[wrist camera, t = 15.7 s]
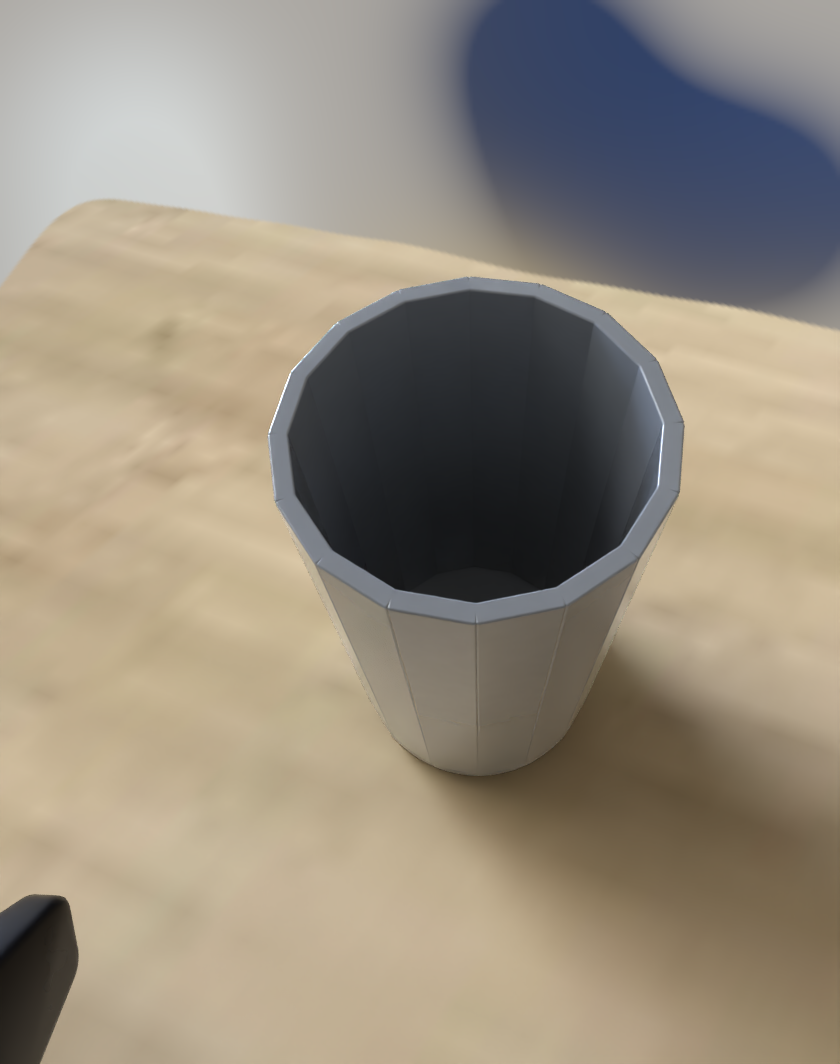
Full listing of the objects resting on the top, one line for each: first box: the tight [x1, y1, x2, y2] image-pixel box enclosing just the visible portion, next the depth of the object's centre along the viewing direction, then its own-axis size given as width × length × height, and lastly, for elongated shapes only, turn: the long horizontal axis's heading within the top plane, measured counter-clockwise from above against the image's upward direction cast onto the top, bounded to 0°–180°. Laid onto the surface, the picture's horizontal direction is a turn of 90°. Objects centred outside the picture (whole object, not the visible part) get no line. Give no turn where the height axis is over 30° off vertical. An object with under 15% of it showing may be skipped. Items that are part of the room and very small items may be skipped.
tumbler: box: [268, 277, 685, 776], centre depth 18 cm, size 7×7×12 cm
